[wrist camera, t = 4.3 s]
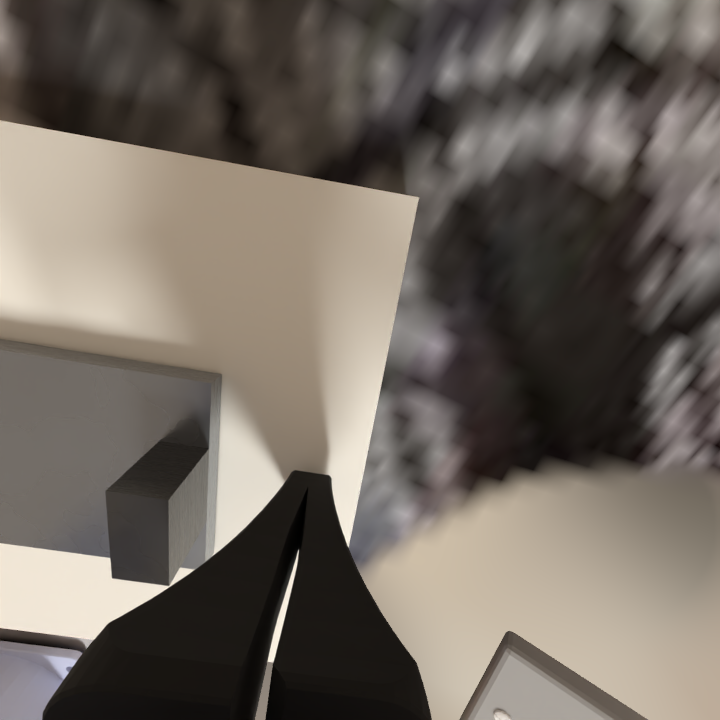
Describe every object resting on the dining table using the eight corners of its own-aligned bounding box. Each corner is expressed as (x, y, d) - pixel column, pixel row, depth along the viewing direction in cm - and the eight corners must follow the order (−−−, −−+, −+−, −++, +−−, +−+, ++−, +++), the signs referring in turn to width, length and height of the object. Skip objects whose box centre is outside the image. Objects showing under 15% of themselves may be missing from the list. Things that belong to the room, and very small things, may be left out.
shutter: (213, 552, 13) (169, 642, 10) (16, 525, 13) (-91, 608, 10) (221, 374, 11) (168, 421, 8) (-19, 336, 11) (-170, 369, 8)
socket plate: (329, 613, 18) (324, 668, 16) (-21, 566, 17) (-83, 617, 15) (408, 208, 12) (419, 197, 10) (-128, 110, 11) (-261, 72, 9)
